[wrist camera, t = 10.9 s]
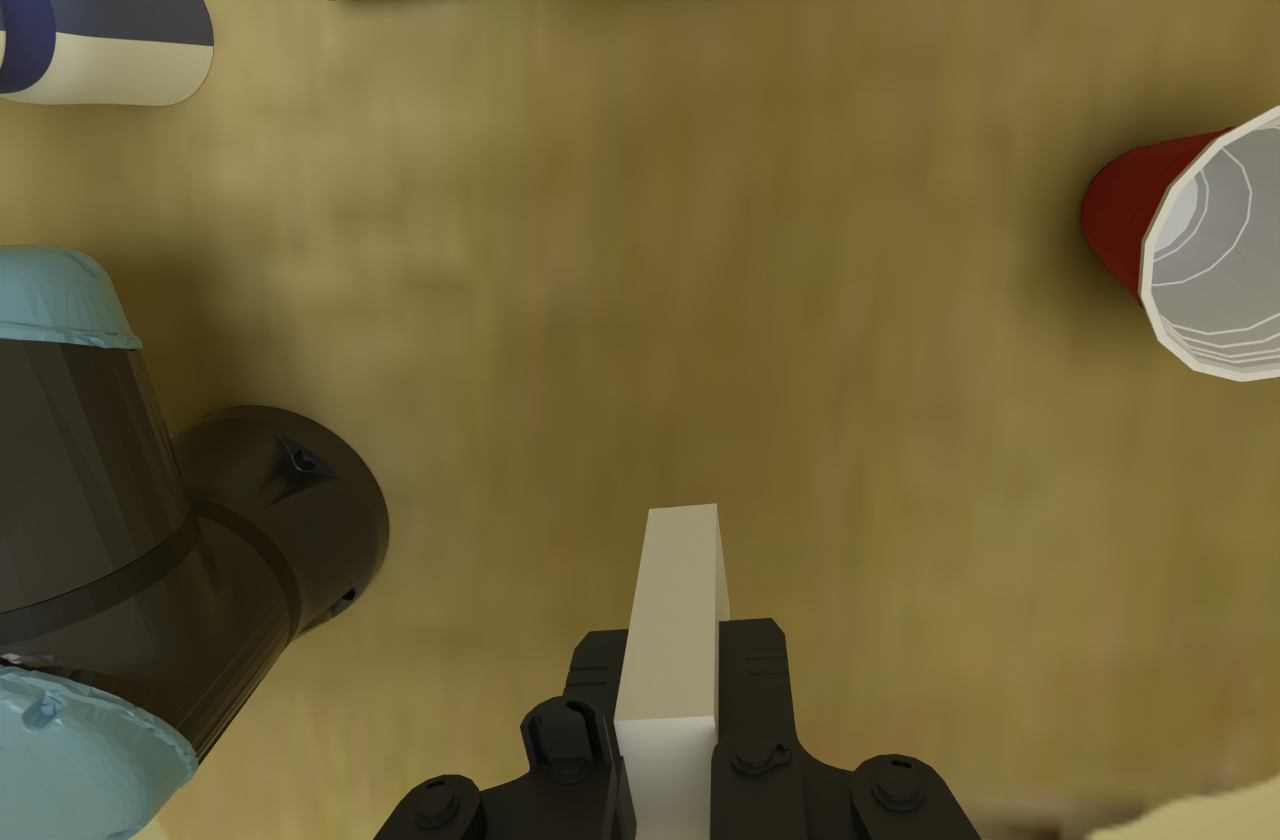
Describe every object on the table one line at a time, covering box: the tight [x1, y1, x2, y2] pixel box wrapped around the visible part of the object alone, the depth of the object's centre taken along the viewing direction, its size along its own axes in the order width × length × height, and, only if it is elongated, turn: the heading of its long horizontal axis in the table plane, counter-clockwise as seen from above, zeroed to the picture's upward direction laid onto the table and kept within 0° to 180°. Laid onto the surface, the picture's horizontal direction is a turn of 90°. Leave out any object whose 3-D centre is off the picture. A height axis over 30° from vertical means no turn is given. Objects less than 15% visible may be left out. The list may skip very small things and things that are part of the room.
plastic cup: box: [1082, 106, 1280, 382], centre depth 37 cm, size 11×11×12 cm
